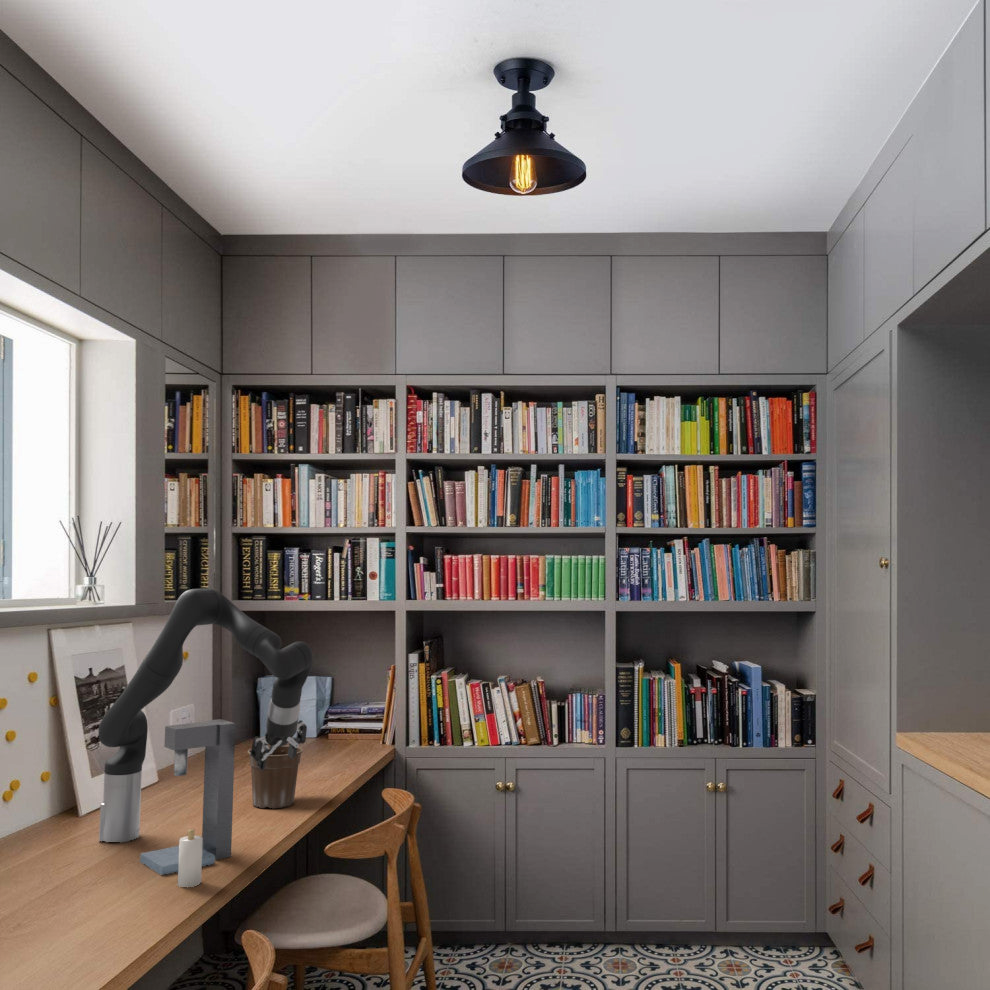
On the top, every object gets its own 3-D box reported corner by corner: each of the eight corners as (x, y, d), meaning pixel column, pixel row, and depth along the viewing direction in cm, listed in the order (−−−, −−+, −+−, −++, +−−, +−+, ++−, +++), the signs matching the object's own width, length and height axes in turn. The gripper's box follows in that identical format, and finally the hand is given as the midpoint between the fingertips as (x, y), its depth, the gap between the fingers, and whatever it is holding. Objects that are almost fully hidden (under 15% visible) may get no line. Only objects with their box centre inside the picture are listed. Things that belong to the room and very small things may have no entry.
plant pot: (279, 794, 288) (280, 742, 289) (312, 803, 278) (313, 749, 279) (235, 804, 275) (236, 750, 277) (268, 814, 265) (269, 757, 266)
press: (161, 875, 212) (167, 733, 214) (125, 852, 228) (130, 720, 231) (235, 859, 224) (240, 724, 227) (196, 838, 241) (200, 713, 243)
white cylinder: (175, 888, 204) (177, 833, 205) (180, 880, 209) (182, 826, 210) (198, 887, 204) (200, 832, 205) (202, 880, 209) (204, 826, 210)
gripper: (300, 695, 233) (293, 743, 240) (250, 713, 223) (243, 762, 230) (316, 713, 228) (308, 762, 235) (265, 732, 219) (258, 782, 226)
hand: (276, 762), depth 233 cm, fingers open, 8 cm apart
